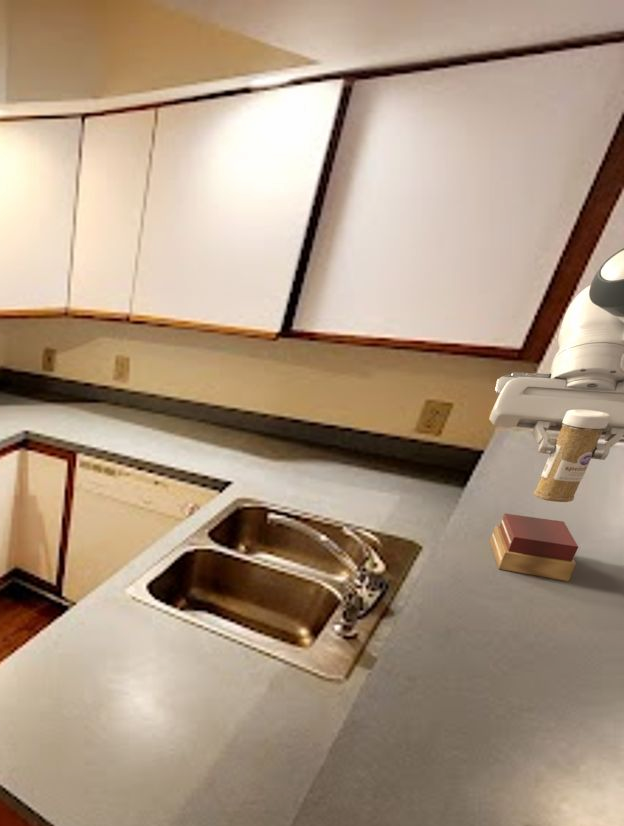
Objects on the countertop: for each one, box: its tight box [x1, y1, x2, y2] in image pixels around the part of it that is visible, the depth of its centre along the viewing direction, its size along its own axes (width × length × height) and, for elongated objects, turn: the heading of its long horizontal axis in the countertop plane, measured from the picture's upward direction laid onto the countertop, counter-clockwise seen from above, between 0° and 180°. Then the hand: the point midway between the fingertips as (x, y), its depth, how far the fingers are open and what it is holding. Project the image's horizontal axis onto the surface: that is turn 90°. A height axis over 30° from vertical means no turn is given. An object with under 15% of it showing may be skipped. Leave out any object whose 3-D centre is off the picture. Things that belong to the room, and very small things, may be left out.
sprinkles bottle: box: [533, 410, 611, 503], centre depth 93 cm, size 5×5×14 cm
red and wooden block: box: [489, 513, 579, 582], centre depth 99 cm, size 8×12×6 cm, turn 145°
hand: (572, 454), depth 93 cm, fingers closed on sprinkles bottle, 4 cm apart
